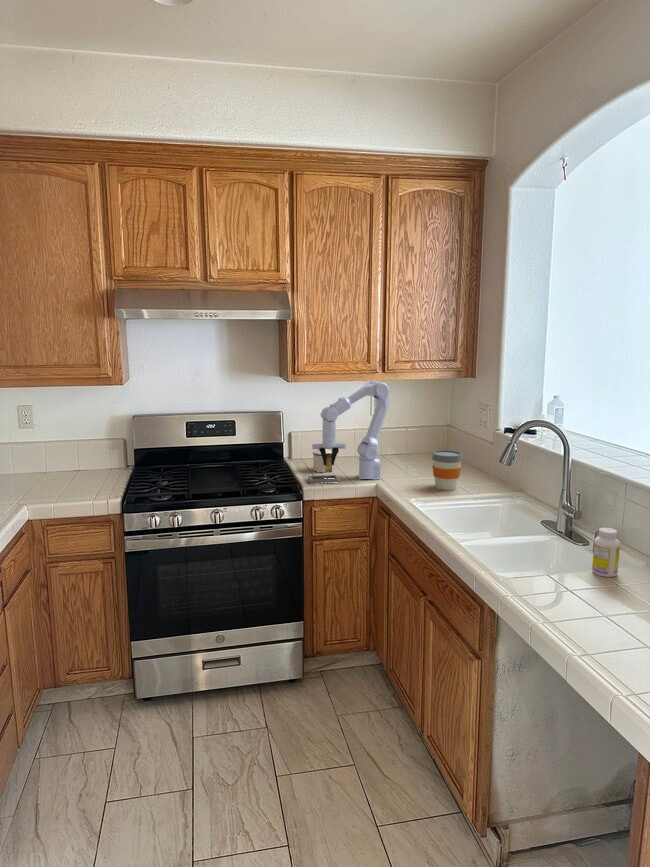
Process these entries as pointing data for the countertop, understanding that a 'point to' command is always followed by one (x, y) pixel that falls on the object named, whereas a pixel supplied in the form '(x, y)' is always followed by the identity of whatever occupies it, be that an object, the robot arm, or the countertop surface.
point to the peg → (328, 462)
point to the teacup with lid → (319, 460)
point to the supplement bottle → (606, 553)
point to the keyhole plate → (321, 479)
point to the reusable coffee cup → (446, 468)
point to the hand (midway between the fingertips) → (328, 464)
